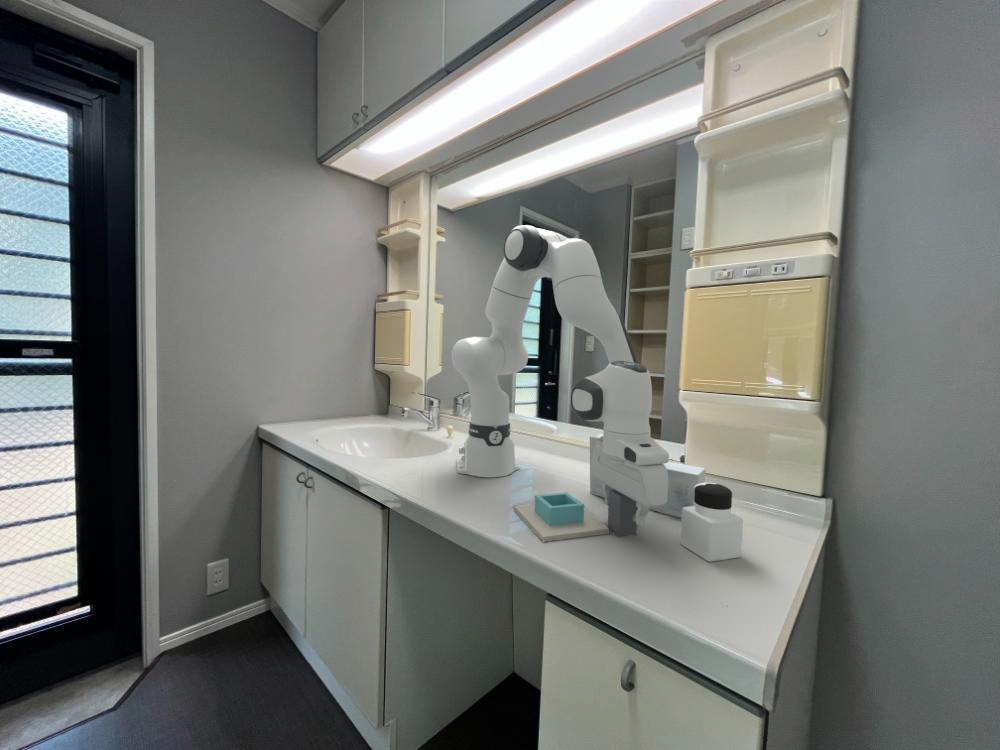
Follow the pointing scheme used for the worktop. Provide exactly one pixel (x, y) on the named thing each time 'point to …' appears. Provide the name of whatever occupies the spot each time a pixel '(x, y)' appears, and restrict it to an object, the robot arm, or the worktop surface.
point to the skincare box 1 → (594, 483)
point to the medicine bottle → (712, 524)
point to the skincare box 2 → (681, 487)
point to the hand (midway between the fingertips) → (623, 514)
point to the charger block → (621, 514)
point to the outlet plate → (559, 518)
